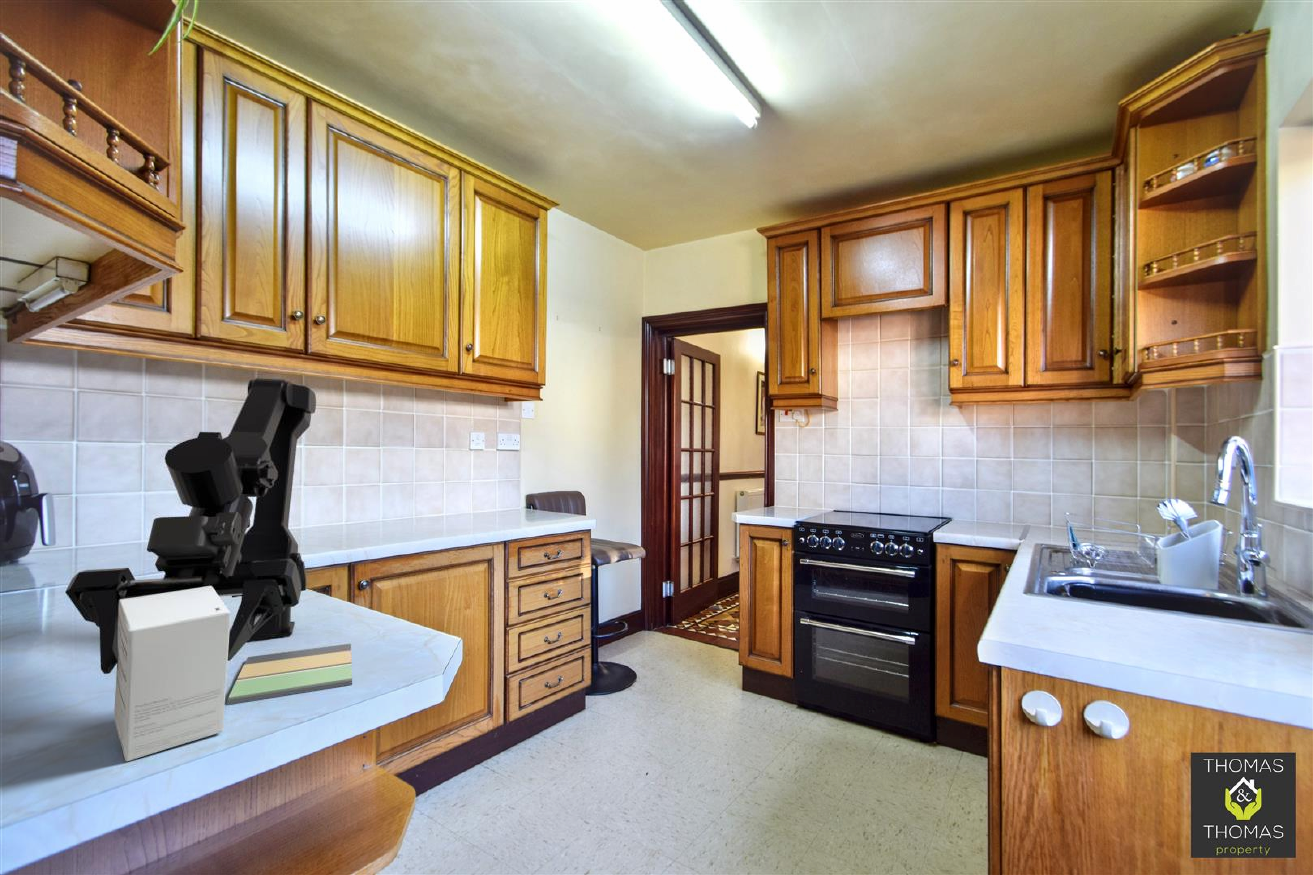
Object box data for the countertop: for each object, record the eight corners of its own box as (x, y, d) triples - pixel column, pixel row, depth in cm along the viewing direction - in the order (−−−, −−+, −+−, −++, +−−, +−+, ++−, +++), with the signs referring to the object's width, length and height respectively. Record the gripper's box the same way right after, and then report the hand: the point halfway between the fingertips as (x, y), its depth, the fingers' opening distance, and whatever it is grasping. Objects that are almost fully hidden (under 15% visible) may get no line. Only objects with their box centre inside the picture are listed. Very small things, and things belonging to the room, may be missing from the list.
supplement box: (207, 696, 61) (215, 583, 59) (224, 733, 56) (233, 611, 55) (111, 721, 55) (117, 597, 54) (121, 764, 50) (128, 629, 49)
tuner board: (247, 660, 76) (248, 656, 76) (350, 647, 81) (350, 642, 81) (227, 704, 63) (227, 698, 63) (351, 684, 68) (352, 679, 68)
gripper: (80, 489, 57) (-5, 631, 46) (297, 485, 64) (267, 609, 53) (119, 557, 64) (52, 694, 53) (311, 547, 71) (286, 668, 60)
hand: (167, 665), depth 55 cm, fingers closed on supplement box, 9 cm apart
